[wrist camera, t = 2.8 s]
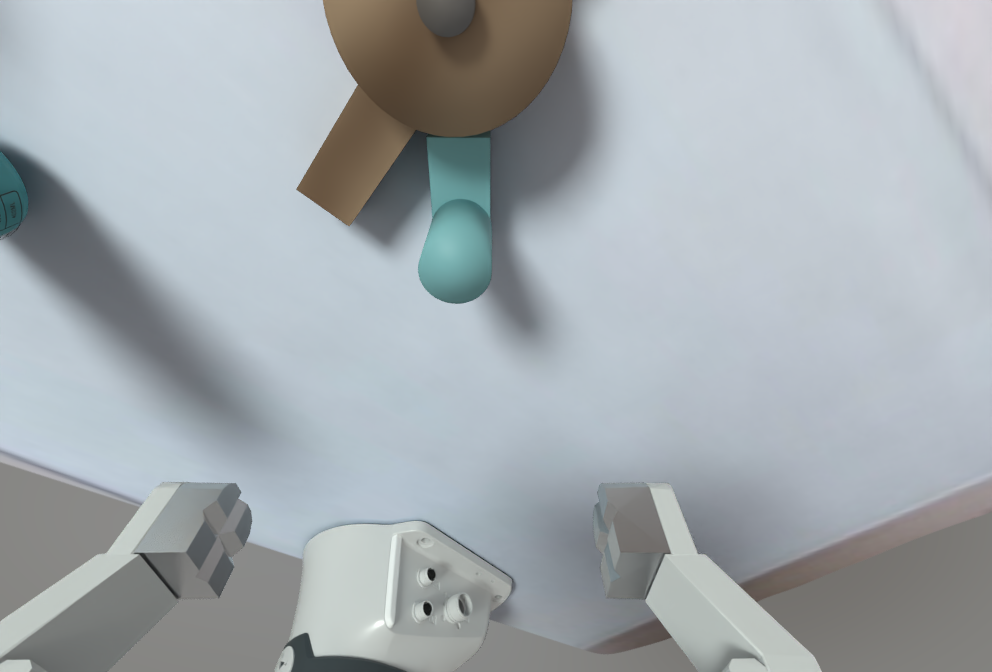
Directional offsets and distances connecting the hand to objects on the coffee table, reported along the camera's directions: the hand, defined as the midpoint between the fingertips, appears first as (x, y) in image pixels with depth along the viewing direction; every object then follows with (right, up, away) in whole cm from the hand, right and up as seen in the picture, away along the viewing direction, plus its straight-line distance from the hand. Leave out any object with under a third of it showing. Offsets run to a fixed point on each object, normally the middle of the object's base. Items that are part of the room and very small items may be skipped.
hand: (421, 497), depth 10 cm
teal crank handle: (0, +12, +14) cm, 18 cm away
